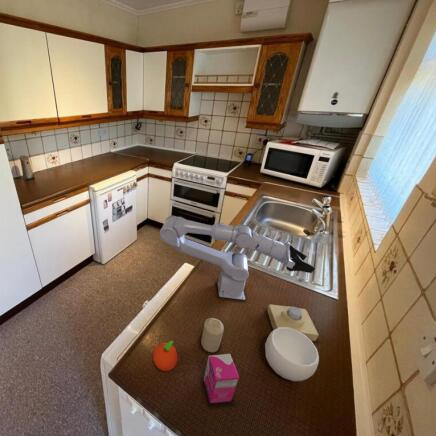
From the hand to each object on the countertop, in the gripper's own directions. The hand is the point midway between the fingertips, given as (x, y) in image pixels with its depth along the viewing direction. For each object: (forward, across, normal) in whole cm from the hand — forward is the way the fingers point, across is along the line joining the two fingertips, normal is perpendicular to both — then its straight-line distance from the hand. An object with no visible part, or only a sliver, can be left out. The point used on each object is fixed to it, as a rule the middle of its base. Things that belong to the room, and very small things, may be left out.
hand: (308, 264), depth 78 cm
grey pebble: (+2, -7, +16) cm, 18 cm away
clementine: (-32, -30, +34) cm, 56 cm away
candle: (-21, -21, +30) cm, 42 cm away
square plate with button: (+3, -7, +20) cm, 21 cm away
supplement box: (-18, -34, +30) cm, 49 cm away
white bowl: (-1, -22, +24) cm, 32 cm away
